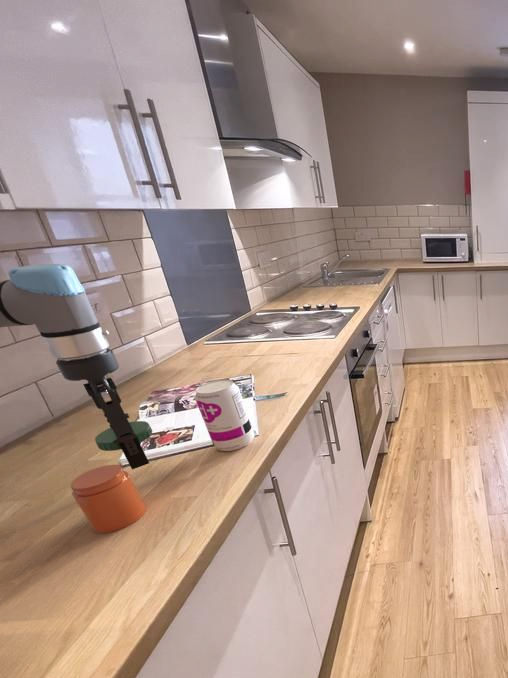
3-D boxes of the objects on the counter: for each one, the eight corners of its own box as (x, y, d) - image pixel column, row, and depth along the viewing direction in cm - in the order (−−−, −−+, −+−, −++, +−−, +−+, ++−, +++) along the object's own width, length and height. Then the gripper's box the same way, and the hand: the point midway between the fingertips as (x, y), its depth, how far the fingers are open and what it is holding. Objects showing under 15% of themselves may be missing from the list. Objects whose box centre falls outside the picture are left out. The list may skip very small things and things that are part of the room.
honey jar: (81, 534, 72) (54, 491, 67) (115, 505, 78) (92, 464, 74) (126, 531, 72) (101, 488, 68) (155, 502, 79) (135, 462, 74)
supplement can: (233, 455, 92) (211, 396, 86) (206, 449, 95) (183, 391, 88) (263, 436, 99) (244, 381, 93) (237, 431, 102) (218, 376, 95)
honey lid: (162, 427, 85) (159, 420, 85) (132, 450, 78) (128, 441, 77) (121, 429, 85) (117, 421, 84) (87, 452, 78) (82, 444, 77)
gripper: (121, 361, 70) (171, 468, 80) (102, 336, 82) (147, 432, 92) (60, 375, 65) (121, 488, 75) (49, 346, 77) (103, 446, 87)
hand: (135, 457), depth 83 cm, fingers closed on honey lid, 8 cm apart
